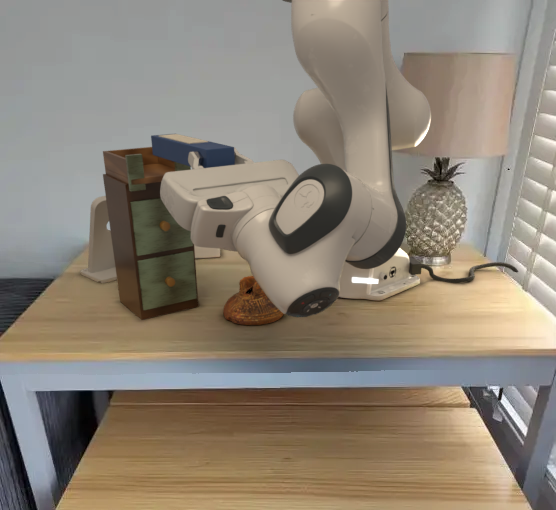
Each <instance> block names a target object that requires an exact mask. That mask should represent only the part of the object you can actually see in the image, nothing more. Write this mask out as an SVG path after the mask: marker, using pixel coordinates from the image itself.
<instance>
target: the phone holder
mask: <svg viewBox="0 0 556 510" xmlns="http://www.w3.org/2000/svg"><path fill="white" fill-rule="evenodd" d="M89 215H90V216H89V236H88V259H87V260H88V261H87V267H86V268H82V269H81V270H80V271H79V272H80V275H81V276H83V277H85V278H87V279H90V280H92V281H95V282H97V283H101V284H105V283H109V282H114V281H117V275H116V267H115V260H114V253H113V245H112V238H111V231H110V229H108V228H107V226H108V224H109V216H108V209H107V201H106V195H102V196H98V197H96V198H94V200H93V201H92V202H91V204H90V214H89Z"/></svg>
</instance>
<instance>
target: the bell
mask: <svg viewBox="0 0 556 510" xmlns="http://www.w3.org/2000/svg"><path fill="white" fill-rule="evenodd" d="M238 283H239V290H238V292H236V293H235V294H233V295H231V296H230V297H229V298H228V299H227V301H225V304H224V306H223V310H222V313H223V317H224V318H225V320H226V321H230V322H232V323H234V324H236V325H244V326H261V325H267V324H271V323H275V322H276V321H279V320H280V319H282V317H283V316H284V315H285V314H284V313H282V312H281V311H280V310H279V309H278V308H277V307H276V306H275V305H274V304H273V303H272V302H271V301H270V299H269V298H268V297H267V296H266V294H265V293H264V292H263V290H262V289H261V287H260V286H259V284H258V283H257V281H256V280H255V278H254V277H253V275H248V276H244V277H242V278H241V279H240V280H239V282H238Z"/></svg>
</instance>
